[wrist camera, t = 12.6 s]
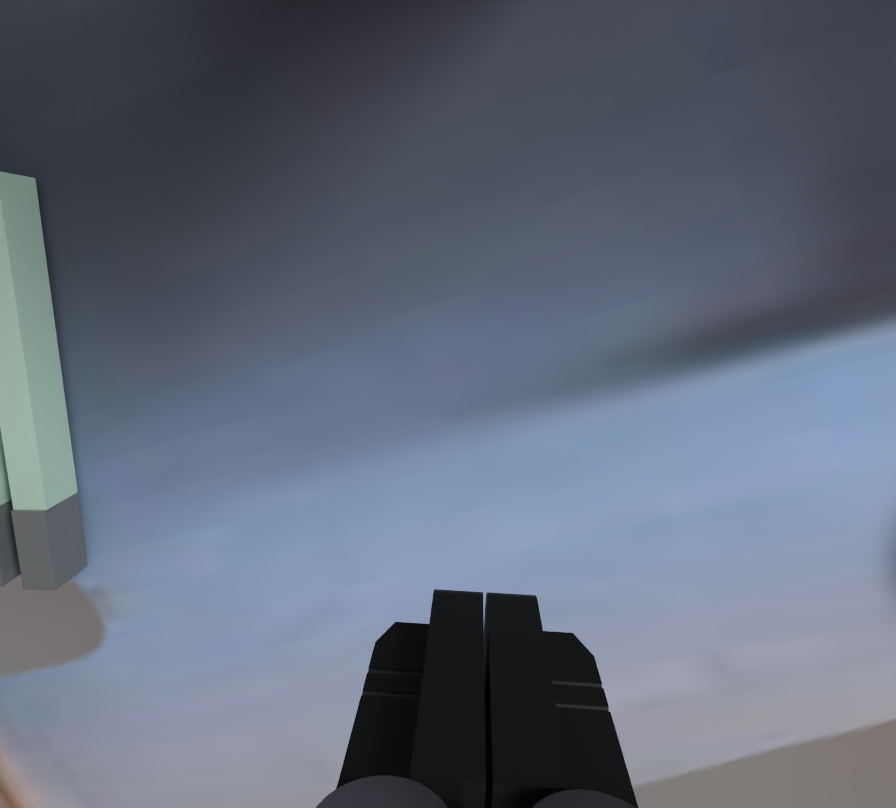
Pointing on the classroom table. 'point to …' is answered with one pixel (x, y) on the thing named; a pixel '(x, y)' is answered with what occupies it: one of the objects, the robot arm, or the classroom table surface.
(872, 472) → the classroom table surface
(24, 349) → the tongs arm
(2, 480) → the bar
